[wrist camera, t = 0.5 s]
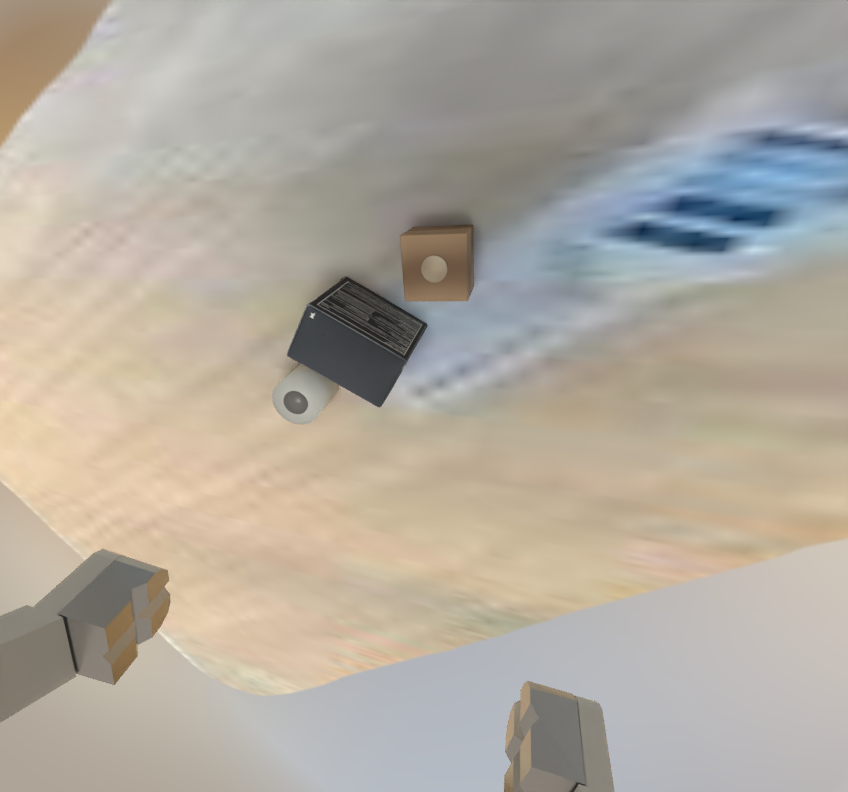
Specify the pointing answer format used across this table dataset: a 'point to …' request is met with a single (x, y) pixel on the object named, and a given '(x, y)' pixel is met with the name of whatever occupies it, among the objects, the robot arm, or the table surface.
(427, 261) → the walnut cube
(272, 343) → the table surface
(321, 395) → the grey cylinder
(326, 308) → the small box
